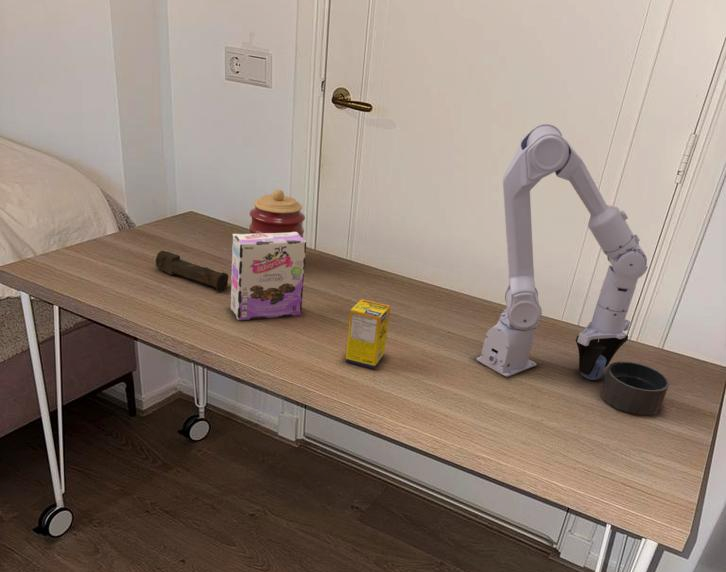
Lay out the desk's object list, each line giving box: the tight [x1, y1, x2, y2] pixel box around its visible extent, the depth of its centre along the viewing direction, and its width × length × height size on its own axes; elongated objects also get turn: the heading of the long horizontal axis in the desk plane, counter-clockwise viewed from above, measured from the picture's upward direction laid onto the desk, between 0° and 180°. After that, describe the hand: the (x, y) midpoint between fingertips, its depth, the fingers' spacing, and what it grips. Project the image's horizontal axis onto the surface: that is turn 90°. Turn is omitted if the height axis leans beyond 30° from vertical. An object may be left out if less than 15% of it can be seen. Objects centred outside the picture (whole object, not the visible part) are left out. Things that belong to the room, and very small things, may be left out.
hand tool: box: [155, 250, 229, 293], centre depth 158 cm, size 19×4×5 cm, turn 60°
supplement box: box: [345, 298, 391, 370], centre depth 133 cm, size 6×6×11 cm
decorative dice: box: [579, 355, 607, 381], centre depth 140 cm, size 4×4×4 cm
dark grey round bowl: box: [600, 360, 670, 416], centre depth 132 cm, size 11×11×6 cm
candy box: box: [230, 232, 307, 321], centre depth 145 cm, size 14×6×16 cm, turn 114°
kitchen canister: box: [248, 188, 306, 238], centre depth 169 cm, size 13×13×18 cm
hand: (592, 369), depth 140 cm, fingers closed on decorative dice, 5 cm apart
